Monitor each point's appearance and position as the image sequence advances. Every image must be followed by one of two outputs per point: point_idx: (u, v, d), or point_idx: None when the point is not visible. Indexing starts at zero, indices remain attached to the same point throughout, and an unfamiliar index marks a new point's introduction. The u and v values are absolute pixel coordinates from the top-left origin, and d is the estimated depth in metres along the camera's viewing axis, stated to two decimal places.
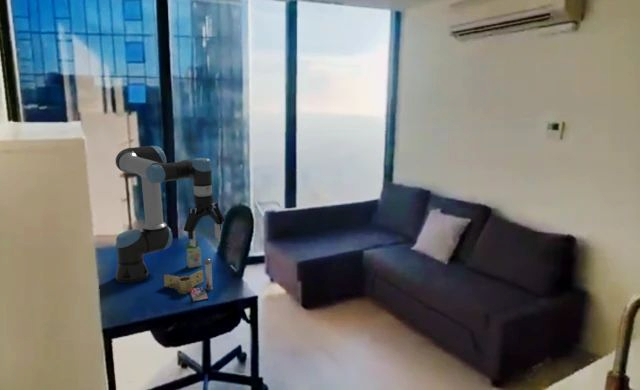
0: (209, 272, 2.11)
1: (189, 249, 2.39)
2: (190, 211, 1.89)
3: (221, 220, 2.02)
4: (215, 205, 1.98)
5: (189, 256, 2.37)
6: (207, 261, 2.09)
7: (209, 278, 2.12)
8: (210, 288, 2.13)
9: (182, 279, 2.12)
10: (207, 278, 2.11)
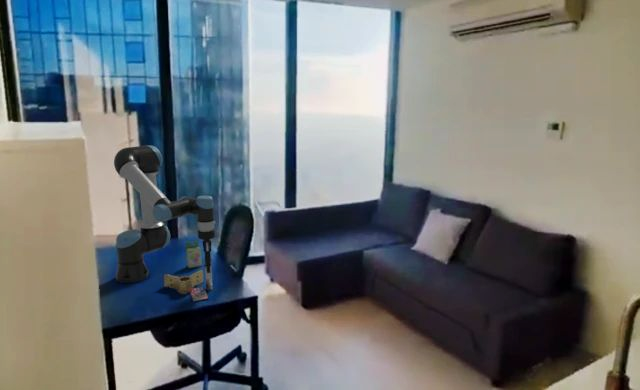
0: None
1: (189, 249, 2.39)
2: (206, 250, 2.03)
3: None
4: None
5: (189, 256, 2.37)
6: None
7: None
8: (210, 288, 2.13)
9: (182, 279, 2.12)
10: None
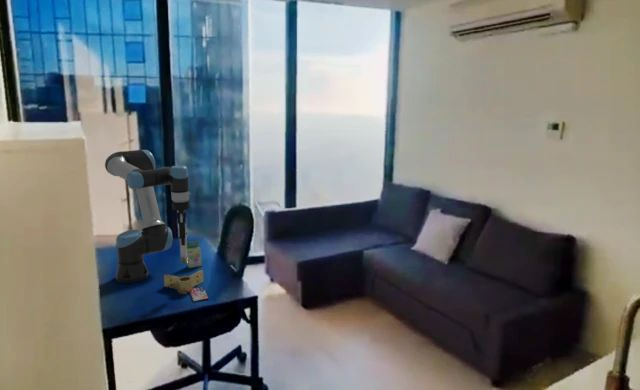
0: None
1: (189, 249, 2.39)
2: (180, 221, 1.98)
3: None
4: (183, 212, 2.09)
5: (189, 256, 2.37)
6: None
7: None
8: (185, 261, 2.08)
9: (182, 279, 2.12)
10: None
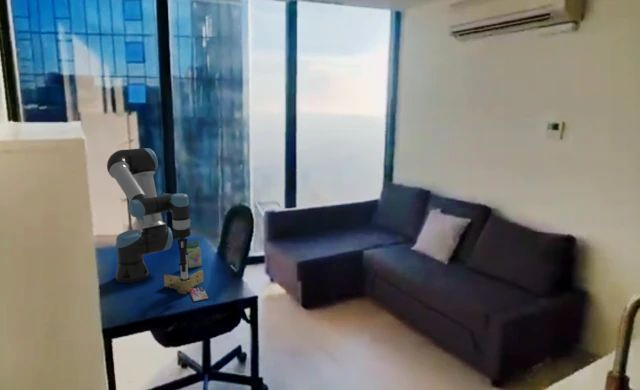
0: None
1: (189, 249, 2.39)
2: (181, 246, 2.00)
3: (185, 251, 2.16)
4: None
5: (189, 256, 2.37)
6: None
7: (185, 279, 2.09)
8: None
9: None
10: (183, 280, 2.09)
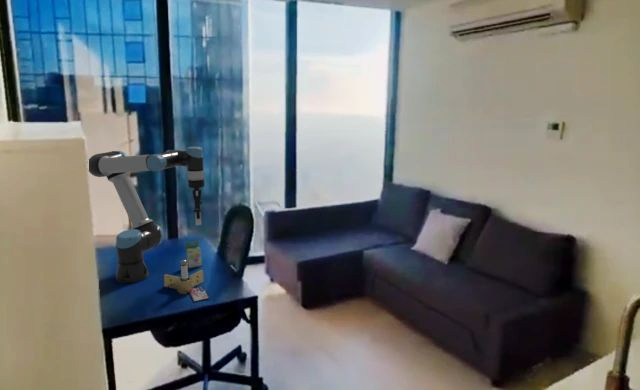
0: (185, 274, 2.09)
1: (189, 249, 2.39)
2: (196, 194, 2.14)
3: None
4: None
5: (189, 256, 2.37)
6: (183, 263, 2.07)
7: (185, 279, 2.09)
8: None
9: None
10: (183, 280, 2.09)
